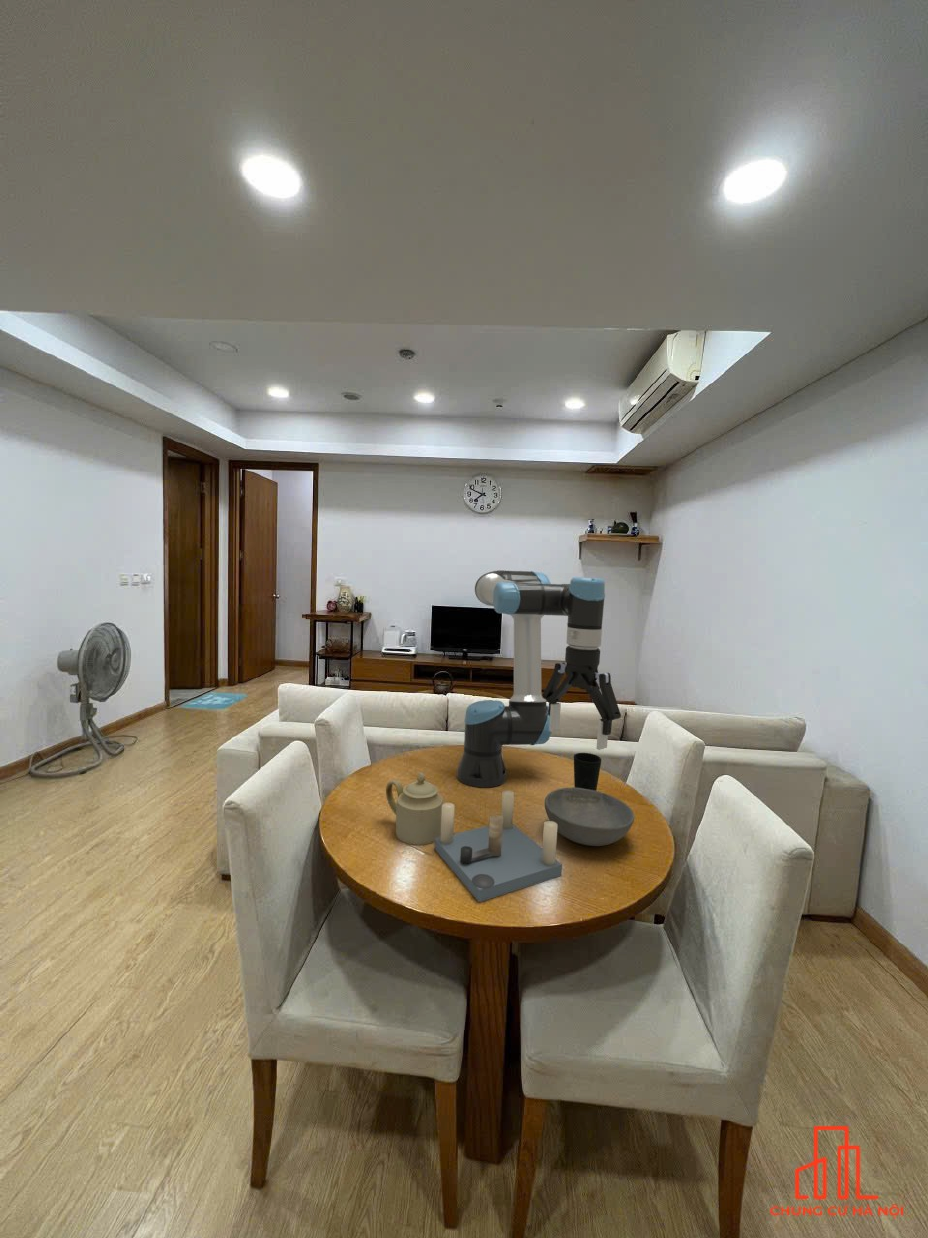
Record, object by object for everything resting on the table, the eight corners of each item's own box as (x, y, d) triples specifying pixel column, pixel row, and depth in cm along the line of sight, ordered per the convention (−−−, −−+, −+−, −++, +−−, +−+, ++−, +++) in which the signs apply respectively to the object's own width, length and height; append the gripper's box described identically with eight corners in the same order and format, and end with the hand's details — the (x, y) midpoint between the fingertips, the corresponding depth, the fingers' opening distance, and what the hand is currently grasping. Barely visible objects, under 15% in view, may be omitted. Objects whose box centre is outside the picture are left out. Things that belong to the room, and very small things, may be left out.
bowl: (537, 813, 130) (539, 784, 129) (617, 817, 130) (619, 788, 129) (549, 859, 109) (551, 824, 108) (644, 864, 108) (646, 829, 108)
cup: (599, 806, 135) (602, 764, 134) (571, 802, 137) (573, 760, 136) (597, 794, 143) (600, 754, 142) (570, 791, 144) (573, 751, 143)
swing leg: (464, 865, 100) (465, 828, 99) (457, 858, 103) (459, 822, 102) (503, 854, 105) (505, 819, 104) (496, 847, 107) (498, 813, 106)
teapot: (373, 841, 113) (375, 778, 112) (386, 818, 124) (388, 760, 123) (437, 848, 112) (440, 784, 110) (445, 823, 122) (447, 765, 121)
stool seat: (433, 849, 111) (435, 803, 110) (508, 830, 120) (510, 788, 119) (478, 903, 93) (481, 849, 92) (561, 876, 103) (565, 827, 102)
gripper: (531, 639, 117) (525, 726, 119) (621, 657, 98) (613, 760, 100) (552, 638, 122) (547, 721, 124) (642, 654, 102) (634, 753, 104)
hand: (576, 739), depth 112 cm, fingers open, 13 cm apart
